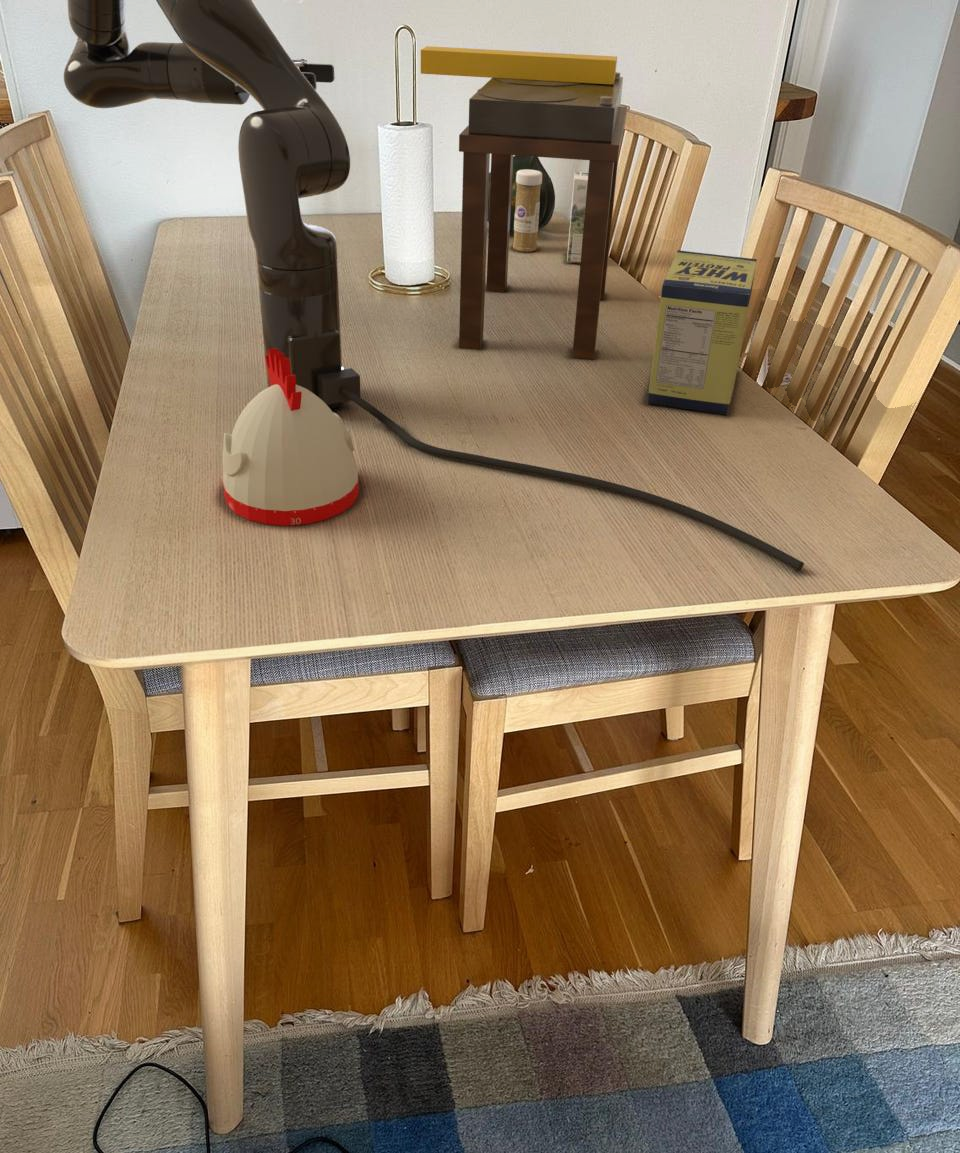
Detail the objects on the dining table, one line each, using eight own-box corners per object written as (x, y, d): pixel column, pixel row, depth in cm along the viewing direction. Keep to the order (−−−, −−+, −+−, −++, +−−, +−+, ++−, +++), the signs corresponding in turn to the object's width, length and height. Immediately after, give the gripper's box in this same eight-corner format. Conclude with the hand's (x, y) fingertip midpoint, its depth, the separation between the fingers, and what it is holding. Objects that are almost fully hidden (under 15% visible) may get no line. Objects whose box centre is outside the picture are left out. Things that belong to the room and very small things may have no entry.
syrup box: (599, 256, 182) (607, 171, 174) (599, 266, 177) (607, 179, 169) (567, 254, 182) (574, 169, 174) (566, 263, 178) (573, 177, 169)
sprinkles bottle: (509, 250, 183) (513, 172, 176) (517, 244, 187) (521, 167, 179) (533, 253, 182) (538, 175, 175) (540, 247, 186) (545, 170, 178)
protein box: (737, 371, 138) (758, 257, 130) (729, 416, 126) (751, 293, 117) (660, 361, 140) (676, 248, 132) (645, 405, 128) (661, 283, 119)
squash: (454, 203, 189) (508, 143, 180) (480, 189, 201) (532, 133, 193) (505, 261, 191) (561, 205, 183) (527, 244, 203) (581, 191, 195)
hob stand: (454, 348, 142) (459, 92, 124) (486, 283, 167) (494, 62, 148) (597, 361, 140) (623, 102, 122) (607, 293, 164) (630, 70, 146)
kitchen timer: (330, 452, 114) (323, 323, 106) (379, 507, 104) (376, 369, 96) (208, 476, 108) (191, 342, 100) (248, 537, 98) (232, 393, 90)
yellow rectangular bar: (420, 73, 141) (420, 49, 140) (426, 69, 145) (426, 46, 143) (613, 84, 138) (615, 60, 137) (614, 80, 142) (617, 56, 140)
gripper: (185, 48, 130) (307, 53, 128) (225, 36, 142) (337, 40, 140) (193, 111, 134) (311, 117, 132) (232, 95, 146) (340, 100, 144)
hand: (324, 77), depth 136 cm, fingers open, 8 cm apart
